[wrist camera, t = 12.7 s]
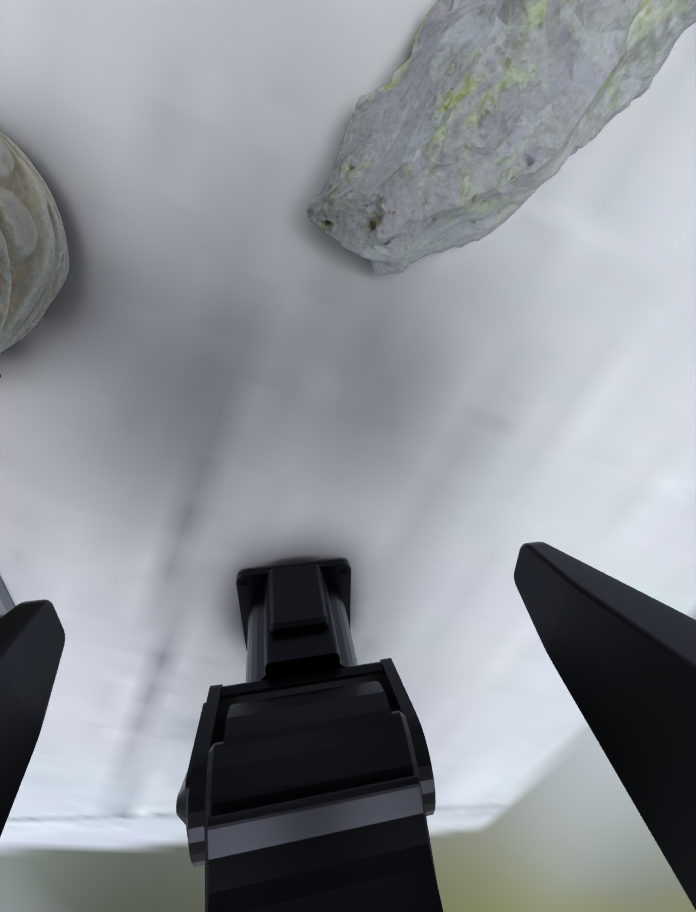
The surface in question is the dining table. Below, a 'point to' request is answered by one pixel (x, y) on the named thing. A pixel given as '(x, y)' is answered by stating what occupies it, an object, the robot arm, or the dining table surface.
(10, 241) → the carving
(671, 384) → the dining table surface
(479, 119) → the rock
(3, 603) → the grey bracket bar
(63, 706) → the dining table surface
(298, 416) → the dining table surface
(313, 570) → the robot arm
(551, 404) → the dining table surface
